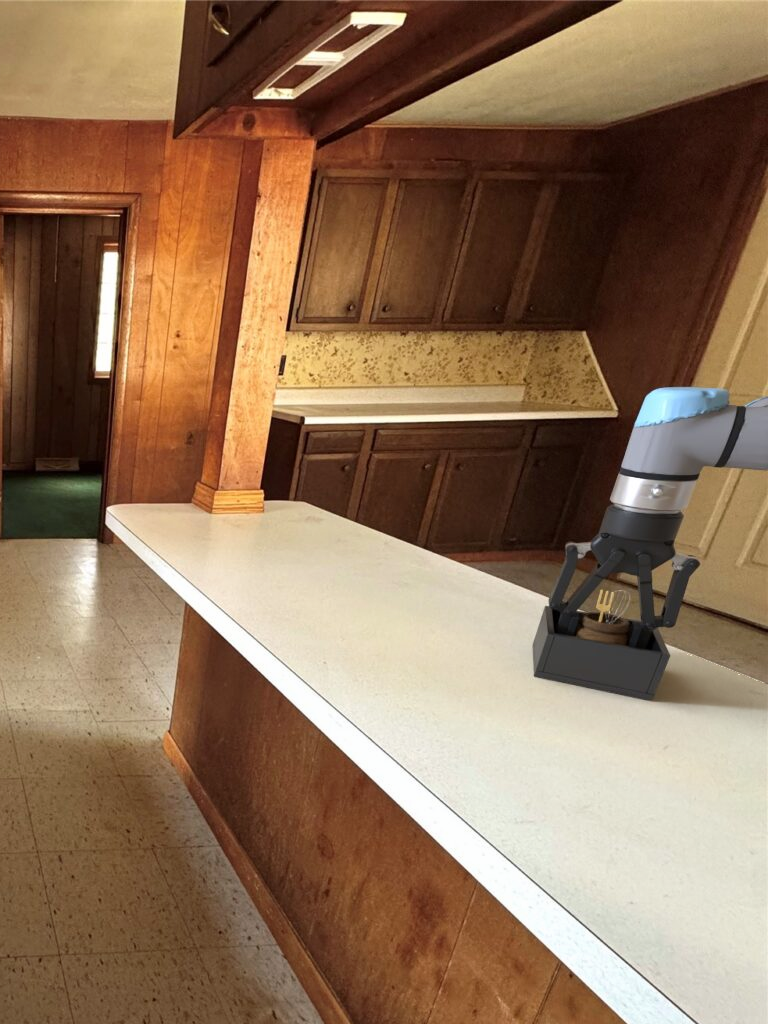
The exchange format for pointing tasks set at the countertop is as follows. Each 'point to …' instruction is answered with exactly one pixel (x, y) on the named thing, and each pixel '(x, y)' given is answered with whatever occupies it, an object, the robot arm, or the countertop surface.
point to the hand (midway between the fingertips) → (591, 659)
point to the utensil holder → (604, 623)
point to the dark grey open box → (598, 660)
